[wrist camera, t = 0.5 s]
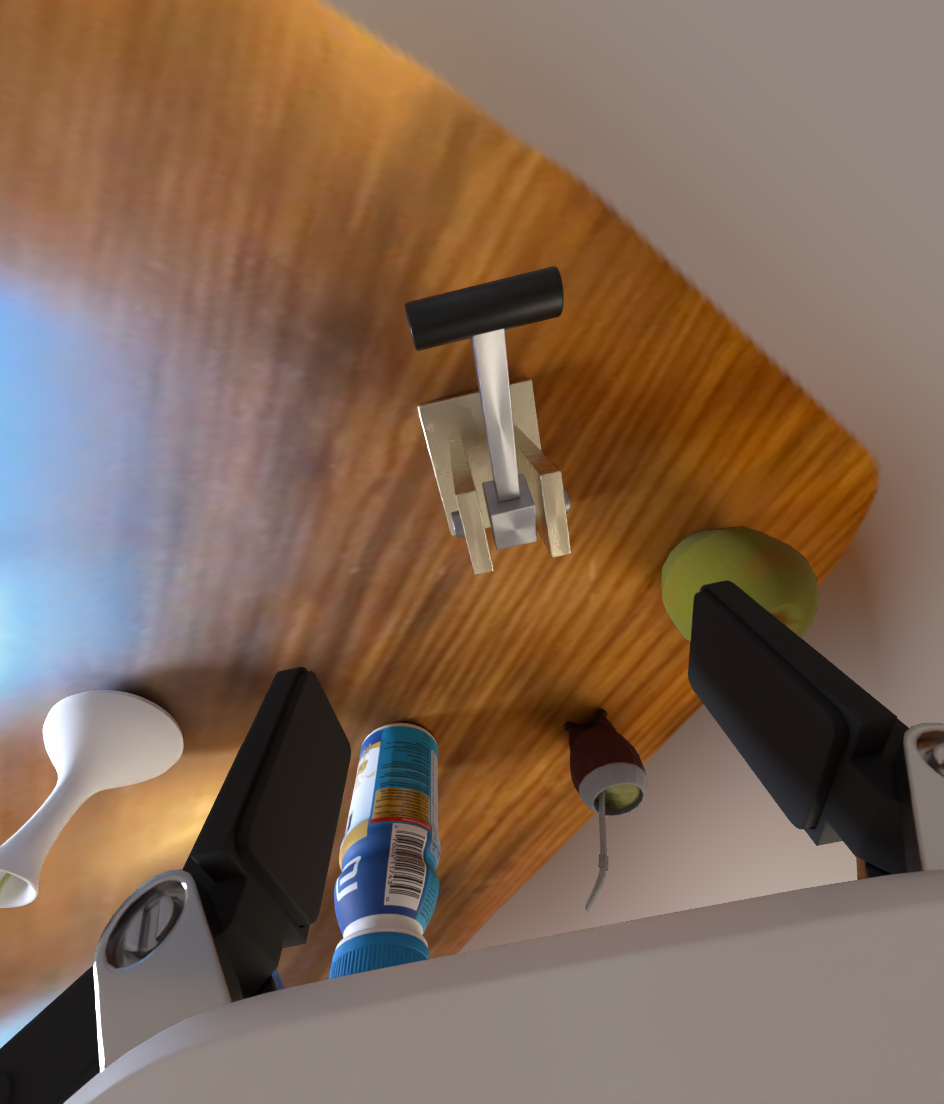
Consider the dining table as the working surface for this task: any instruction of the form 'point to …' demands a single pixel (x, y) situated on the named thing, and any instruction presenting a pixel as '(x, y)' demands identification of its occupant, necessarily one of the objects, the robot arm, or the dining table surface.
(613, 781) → the mate gourd
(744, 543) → the apple
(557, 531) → the bracket
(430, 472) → the dining table surface
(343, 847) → the beverage bottle
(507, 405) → the lever
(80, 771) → the flower in vase
